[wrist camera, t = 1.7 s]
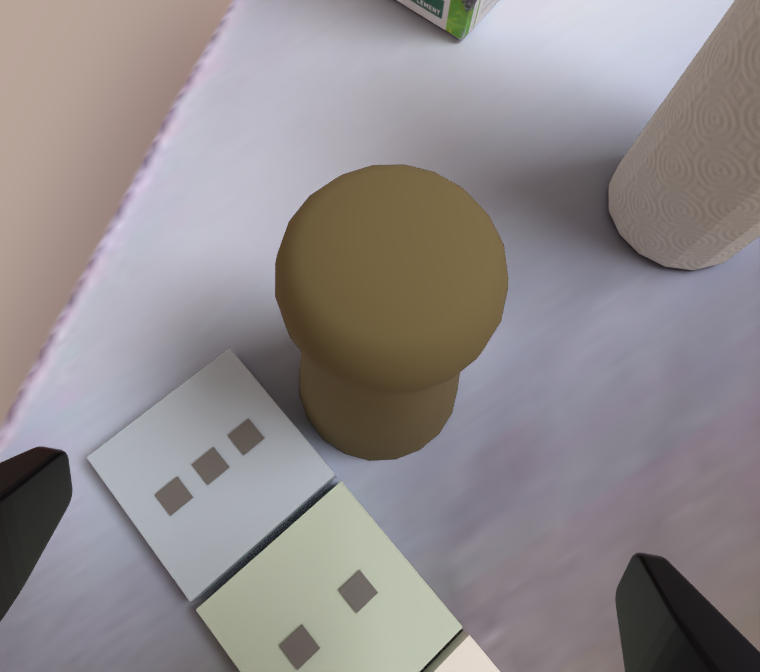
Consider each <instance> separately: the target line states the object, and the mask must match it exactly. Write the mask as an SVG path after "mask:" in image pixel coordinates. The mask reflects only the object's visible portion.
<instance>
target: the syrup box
mask: <svg viewBox="0 0 760 672" xmlns="http://www.w3.org/2000/svg"><path fill="white" fill-rule="evenodd" d="M397 1H398V2H400V3H402V4H403V5H405V6H406V7H408V8H410V9H411V10H413V11H414V12H416V13H418V14H419V15H421V16H423V17H424V18H426V19H428V20H429V21H431V22H432V23H434V24H436V25H437V26H439V27H441V28H442V29H444V30H446V31H448V32H449V33H451V34H452V35H453V36H455V37H456V38H458V39H460V40H463V39H464V38H465V36H466V35H467V34H468V33H469V32H470V31H471V30H472V29H473V28H474V27H475V26H476V25H477V24H478V23H479V21H480V20H481V19H482V18H483V17H484V16H485V15H486V14H487V13H488V12H489V11H490V10H491V9H492V8H493V6H494V5H495V4H496V3H497V2H498V1H499V0H397Z"/></svg>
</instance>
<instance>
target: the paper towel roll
mask: <svg viewBox="0 0 760 672" xmlns="http://www.w3.org/2000/svg"><path fill="white" fill-rule="evenodd" d="M609 212H610V214H611V217H612V219H613V221H614V223H615V225H616V228H617V230H618V232H619V234H620V235H621V236H622V237H623V238H624V239H625V240H626V241H627V242H628V243H629V244H630V245H631V246H632V247H633V248H634V249H635V250H636V251H637V252H638V253H639V254H641V255H643V256H645V257H647V258H649V259H651V260H653V261H655V262H657V263H659V264H661V265H663V266H665V267H671V268H679V269H687V270H697V269H701V268H705V267H709V266H713V265H717V264H720V263H724V262H725V261H726V260H728V259H729V258H730V257H732V256H733V255H735V254H736V253H737V252H739V251H740V250H741V249H743V248H744V247H745V246H747V245H748V244H750V243H751V242H752V241H754V240H755V239H756V238H758V237H759V236H760V0H735V1H734V2H733V4H732V5H731V7H730V8H729V10H728V11H727V12H726V14H725V15H724V17H723V18H722V19H721V21H720V22H719V24H718V25H717V26H716V28H715V29H714V31H713V32H712V33H711V35H710V36H709V38H708V39H707V40H706V42H705V43H704V45H703V46H702V48H701V49H700V50H699V52H698V53H697V55H696V56H695V57H694V59H693V60H692V62H691V63H690V64H689V66H688V67H687V69H686V70H685V71H684V73H683V74H682V76H681V77H680V79H679V80H678V81H677V83H676V84H675V86H674V87H673V88H672V90H671V91H670V93H669V94H668V95H667V97H666V98H665V100H664V101H663V102H662V104H661V105H660V107H659V108H658V109H657V111H656V112H655V114H654V115H653V117H652V118H651V119H650V121H649V122H648V124H647V125H646V126H645V128H644V129H643V131H642V132H641V133H640V135H639V136H638V138H637V139H636V140H635V142H634V143H633V145H632V146H631V148H630V149H629V150H628V152H627V153H626V155H625V156H624V157H623V159H622V160H621V162H620V163H619V165H618V167H617V169H616V171H615V173H614V175H613V177H612V179H611V181H610V183H609Z"/></svg>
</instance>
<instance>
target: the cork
mask: <svg viewBox="0 0 760 672" xmlns="http://www.w3.org/2000/svg"><path fill="white" fill-rule="evenodd" d="M507 290H508V273H507V266H506V258H505V251H504V244H503V242H502V240H501V238H500V236H499V234H498V232H497V230H496V228H495V226H494V224H493V222H492V220H491V218H490V216H489V215H488V214H487V213H486V212H485V211H484V210H483V209H482V208H481V207H480V206H479V204H478V203H477V202H476V201H475V200H474V199H473V198H472V197H471V196H470V195H469V194H468V193H467V192H466V191H465V190H464V189H463V188H462V187H460V186H458V185H456V184H455V183H453V182H451V181H449V180H447V179H446V178H444V177H442V176H440V175H439V174H437V173H435V172H432V171H428V170H424V169H420V168H416V167H412V166H408V165H372V166H369V167H366V168H362V169H359V170H356V171H353V172H349V173H346V174H343V175H341V176H339V177H337V178H336V179H334V180H333V181H331V182H330V183H328V184H327V185H325V186H324V187H322V188H321V189H319V190H318V191H316V192H315V193H313V194H312V195H310V196H309V197H308V199H307V200H306V201H305V202H304V204H303V205H302V206H301V207H300V208H299V210H298V211H297V212H296V213H295V215H294V216H293V217H292V218H291V220H290V221H289V223H288V226H287V229H286V232H285V234H284V237H283V240H282V243H281V245H280V248H279V251H278V254H277V258H276V263H275V297H276V300H277V303H278V306H279V308H280V311H281V314H282V317H283V320H284V323H285V325H286V328H287V331H288V333H289V336H290V338H291V339H292V340H293V342H294V343H295V344H296V345H297V347H298V348H299V349H300V350H301V352H302V353H301V361H300V370H299V390H300V398H301V401H302V404H303V407H304V410H305V413H306V416H307V419H308V420H309V422H310V423H311V424H312V425H313V427H314V428H315V429H316V431H317V432H318V433H319V434H320V436H321V437H322V438H323V439H324V440H325V441H327V442H328V443H330V444H331V445H332V446H334V447H335V448H337V449H338V450H340V451H341V452H343V453H344V454H348V455H351V456H355V457H359V458H362V459H366V460H370V461H371V460H391V459H398V458H400V457H403V456H405V455H408V454H411V453H413V452H416V451H418V450H420V449H421V448H423V447H424V446H425V445H426V444H427V443H429V442H430V441H431V440H432V439H433V438H435V437H436V436H437V435H438V434H439V433H440V432H441V430H442V428H443V427H444V425H445V423H446V422H447V420H448V419H449V417H450V415H451V414H452V411H453V407H454V402H455V398H456V394H457V389H458V382H459V375H460V372H461V371H462V370H463V369H464V368H466V367H467V366H468V365H469V364H471V363H472V362H473V361H474V360H476V359H477V358H478V356H479V355H480V354H481V352H482V351H483V349H484V348H485V346H486V345H487V343H488V341H489V340H490V338H491V337H492V335H493V333H494V332H495V330H496V328H497V327H498V325H499V324H500V322H501V319H502V314H503V309H504V304H505V300H506V295H507Z"/></svg>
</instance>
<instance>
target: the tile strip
mask: <svg viewBox="0 0 760 672" xmlns="http://www.w3.org/2000/svg"><path fill="white" fill-rule="evenodd" d="M86 458H87V459H88V460H89V462H90V463H91V465H92V466H93V467H94V469H95V470H96V472H97V473H98V474H99V476H100V477H101V478H102V480H103V481H104V483H105V484H106V485H107V487H108V488H109V490H110V491H111V492H112V494H113V495H114V497H115V498H116V499H117V501H118V502H119V504H120V505H121V506H122V508H123V509H124V511H125V512H126V513H127V515H128V516H129V517H130V519H131V520H132V522H133V523H134V524H135V526H136V527H137V529H138V530H139V531H140V533H141V534H142V536H143V537H144V538H145V540H146V541H147V543H148V544H149V545H150V547H151V548H152V550H153V551H154V552H155V554H156V555H157V556H158V558H159V559H160V561H161V562H162V563H163V565H164V566H165V568H166V569H167V570H168V572H169V573H170V575H171V576H172V577H173V579H174V580H175V582H176V583H177V584H178V586H179V587H180V589H181V590H182V591H183V593H184V594H185V595H186V597H187V598H188V600H189V601H190V602H191V601H193V600H196V599H198V598H199V597H201V596H202V595H203V594H204V593H205V592H206V591H207V590H209V589H210V588H211V587H212V586H213V585H214V584H215V583H216V582H218V581H219V580H220V579H221V578H222V577H223V576H224V575H226V574H227V573H228V572H229V571H230V570H231V569H232V568H234V567H235V566H236V565H237V564H238V563H239V562H240V561H241V560H243V559H244V558H245V557H246V556H247V555H248V554H249V553H251V552H252V551H253V550H254V549H255V548H256V547H257V546H259V545H260V544H261V543H262V542H263V541H264V540H265V539H266V538H268V537H269V536H270V535H271V534H272V533H273V532H274V531H276V530H277V529H278V528H279V527H280V526H281V525H282V524H284V523H285V522H286V521H287V520H288V519H289V518H290V517H291V516H293V515H294V514H295V513H296V512H297V511H298V510H299V509H301V508H302V507H303V506H304V505H305V504H306V503H307V502H308V501H310V500H311V499H312V498H313V497H314V496H315V495H316V494H318V493H319V492H320V491H321V490H322V489H323V488H324V487H326V486H327V485H328V484H329V483H330V482H331V481H332V480H333V479H335V478H336V475H335V473H334V472H333V471H332V470H331V469H330V467H329V466H328V465H327V464H326V463H325V461H324V460H323V459H322V458H321V457H320V455H319V454H318V453H317V452H316V451H315V449H314V448H313V447H312V446H311V445H310V443H309V442H308V441H307V440H306V439H305V437H304V436H303V435H302V434H301V433H300V431H299V430H298V429H297V428H296V427H295V425H294V424H293V423H292V422H291V421H290V419H289V418H288V417H287V416H286V415H285V413H284V412H283V411H282V410H281V409H280V407H279V406H278V405H277V404H276V403H275V401H274V400H273V399H272V398H271V397H270V395H269V394H268V393H267V392H266V391H265V389H264V388H263V387H262V386H261V385H260V383H259V382H258V381H257V380H256V379H255V377H254V376H253V375H252V374H251V373H250V372H249V370H248V369H247V368H246V367H245V366H244V364H243V363H242V362H241V361H240V360H239V358H238V357H237V356H236V355H235V354H234V352H233V351H232V350H231V349H230V348H228V349H227V350H226V351H224V352H223V353H222V354H220V355H219V356H218V357H216V358H215V359H214V360H213V361H211V362H210V363H209V364H207V365H206V366H205V367H203V368H202V369H201V370H200V371H198V372H197V373H196V374H194V375H193V376H192V377H190V378H189V379H188V380H187V381H185V382H184V383H183V384H181V385H180V386H179V387H177V388H176V389H175V390H174V391H172V392H171V393H170V394H168V395H167V396H166V397H164V398H163V399H162V400H160V401H159V402H158V403H157V404H155V405H154V406H153V407H151V408H150V409H149V410H147V411H146V412H145V413H144V414H142V415H141V416H140V417H138V418H137V419H136V420H134V421H133V422H132V423H131V424H129V425H128V426H127V427H125V428H124V429H123V430H121V431H120V432H119V433H118V434H116V435H115V436H114V437H112V438H111V439H110V440H108V441H107V442H106V443H104V444H103V445H102V446H101V447H99V448H98V449H97V450H95V451H94V452H93V453H91V454H90V455H89V456H88V457H86ZM196 611H197V612H198V614H199V615H200V616H201V618H202V619H203V621H204V622H205V623H206V625H207V626H208V627H209V629H210V630H211V632H212V633H213V634H214V636H215V637H216V639H217V640H218V641H219V643H220V644H221V646H222V647H223V648H224V650H225V651H226V653H227V654H228V655H229V657H230V658H231V660H232V661H233V662H234V664H235V665H236V666H237V668H238V669H239V671H240V672H420V671H421V670H422V669H423V668H424V667H425V666H426V664H427V663H428V662H429V661H430V660H431V659H432V658H433V657H434V656H435V655H436V654H437V653H438V652H439V651H440V650H441V649H442V648H443V647H444V646H445V645H446V644H447V643H448V642H449V641H450V640H451V639H452V638H453V637H454V636H455V635H456V634H457V633H458V632H459V631H460V629H461V628H462V626H461V624H460V623H459V622H458V621H457V620H456V618H455V617H454V616H453V615H452V614H451V612H450V611H449V610H448V609H447V608H446V606H445V605H444V604H443V603H442V602H441V600H440V599H439V598H438V597H437V596H436V594H435V593H434V592H433V591H432V590H431V588H430V587H429V586H428V585H427V584H426V582H425V581H424V580H423V579H422V578H421V576H420V575H419V574H418V573H417V572H416V570H415V569H414V568H413V567H412V566H411V564H410V563H409V562H408V561H407V560H406V558H405V557H404V556H403V555H402V554H401V552H400V551H399V550H398V549H397V548H396V546H395V545H394V544H393V543H392V542H391V540H390V539H389V538H388V537H387V536H386V534H385V533H384V532H383V531H382V530H381V529H380V527H379V526H378V525H377V524H376V523H375V521H374V520H373V519H372V518H371V517H370V515H369V514H368V513H367V512H366V511H365V509H364V508H363V507H362V506H361V505H360V503H359V502H358V501H357V500H356V499H355V497H354V496H353V495H352V494H351V493H350V491H349V490H348V489H347V488H346V487H345V485H344V484H343V483H342V482H340V483H338V484H337V485H336V486H335V487H334V488H333V489H332V490H330V491H329V492H328V493H327V494H326V495H325V496H324V497H323V498H321V499H320V500H319V501H318V502H317V503H316V504H315V505H314V506H312V507H311V508H310V509H309V510H308V511H307V512H306V513H304V514H303V515H302V516H301V517H300V518H299V519H298V520H297V521H295V522H294V523H293V524H292V525H291V526H290V527H289V528H288V529H286V530H285V531H284V532H283V533H282V534H281V535H280V536H278V537H277V538H276V539H275V540H274V541H273V542H272V543H271V544H269V545H268V546H267V547H266V548H265V549H264V550H263V551H262V552H260V553H259V554H258V555H257V556H256V557H255V558H254V559H252V560H251V561H250V562H249V563H248V564H247V565H246V566H245V567H243V568H242V569H241V570H240V571H239V572H238V573H237V574H236V575H234V576H233V577H232V578H231V579H230V580H229V581H228V582H226V583H225V584H224V585H223V586H222V587H221V588H220V589H219V590H217V591H216V592H215V593H214V594H213V595H212V596H211V597H210V598H208V599H207V600H206V601H205V602H204V603H203V604H202V605H200V606H199V607H198V608H197V609H196ZM423 672H500V671H499V670H498V669H497V668H496V666H495V665H494V664H493V663H492V662H491V660H490V659H489V658H488V657H487V656H486V654H485V653H484V652H483V651H482V650H481V648H480V647H479V646H478V645H477V644H476V642H475V641H474V640H473V639H472V638H471V636H470V635H469V634H468V633H467V632H466V631H465V630H463V631H462V632H461V633H460V634H459V635H458V636H457V637H456V638H455V639H454V640H453V641H452V642H451V644H450V645H449V646H448V647H447V648H446V649H445V650H444V651H443V652H442V653H441V654H440V655H439V656H438V657H437V658H436V659H435V660H434V661H433V662H432V663H431V664H430V665H429V666H428V667H427V668H426V669H425V670H424V671H423Z"/></svg>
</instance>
